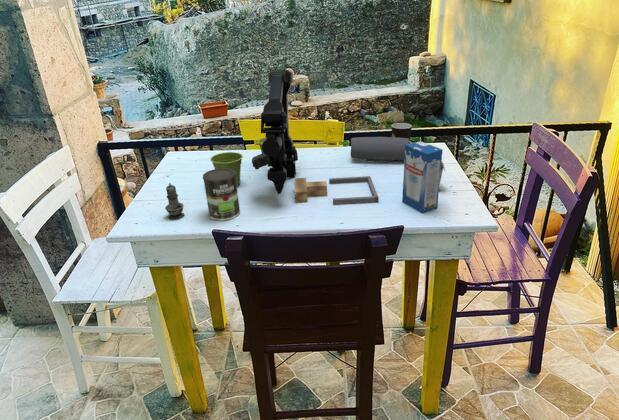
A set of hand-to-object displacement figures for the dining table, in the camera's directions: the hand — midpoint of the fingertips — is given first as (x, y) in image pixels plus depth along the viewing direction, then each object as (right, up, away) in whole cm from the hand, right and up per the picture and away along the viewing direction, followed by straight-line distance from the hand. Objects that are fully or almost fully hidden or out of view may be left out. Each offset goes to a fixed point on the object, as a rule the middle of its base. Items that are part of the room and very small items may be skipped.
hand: (279, 188), depth 158 cm
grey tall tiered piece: (-33, -10, -9) cm, 36 cm away
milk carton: (+47, -6, -10) cm, 48 cm away
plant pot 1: (-19, +2, +12) cm, 23 cm away
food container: (+52, +1, +3) cm, 52 cm away
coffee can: (-17, -9, -9) cm, 21 cm away
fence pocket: (+25, -1, +1) cm, 25 cm away
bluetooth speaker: (+39, +13, +28) cm, 49 cm away
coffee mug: (+51, +20, +41) cm, 68 cm away
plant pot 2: (-6, +14, +34) cm, 37 cm away
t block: (+11, -2, +1) cm, 11 cm away
